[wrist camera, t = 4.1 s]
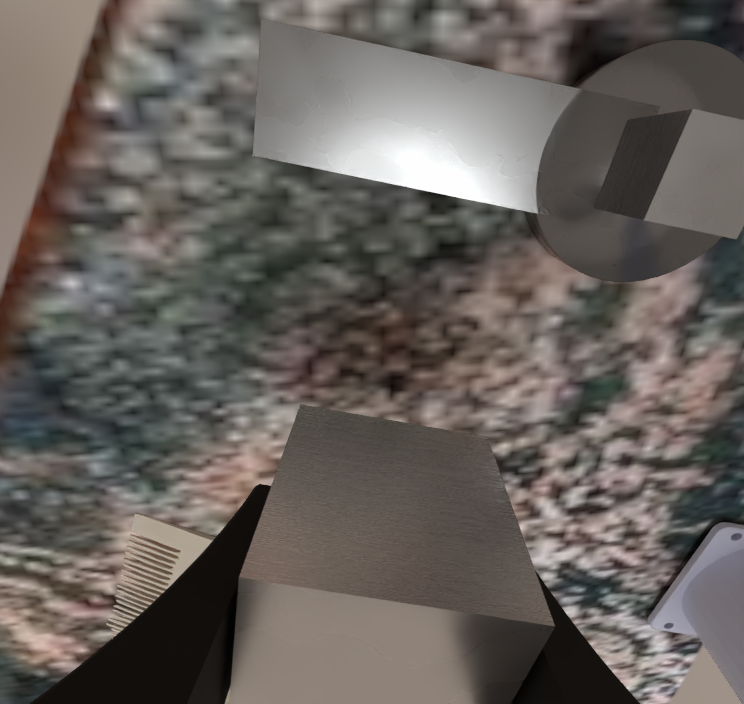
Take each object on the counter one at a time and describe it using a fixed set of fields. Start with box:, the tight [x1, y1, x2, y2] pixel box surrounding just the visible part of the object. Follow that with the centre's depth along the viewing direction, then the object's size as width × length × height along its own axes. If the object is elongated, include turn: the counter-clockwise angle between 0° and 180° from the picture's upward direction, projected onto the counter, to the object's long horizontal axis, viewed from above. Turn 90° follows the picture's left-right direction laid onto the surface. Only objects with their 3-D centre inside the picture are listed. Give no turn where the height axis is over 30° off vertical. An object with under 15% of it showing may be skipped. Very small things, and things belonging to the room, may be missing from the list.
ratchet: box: [253, 19, 744, 282], centre depth 12 cm, size 16×7×4 cm, turn 79°
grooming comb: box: [107, 513, 231, 704], centre depth 27 cm, size 18×10×1 cm, turn 157°
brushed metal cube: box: [229, 405, 555, 704], centre depth 10 cm, size 5×5×5 cm
